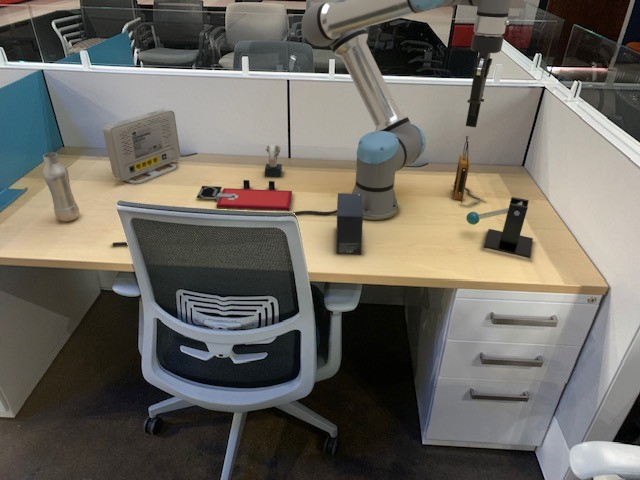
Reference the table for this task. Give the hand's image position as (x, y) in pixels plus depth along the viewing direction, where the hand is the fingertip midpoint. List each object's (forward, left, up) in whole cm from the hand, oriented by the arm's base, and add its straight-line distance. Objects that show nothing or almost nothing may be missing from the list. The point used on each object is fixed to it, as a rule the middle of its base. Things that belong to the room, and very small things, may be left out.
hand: (471, 125), depth 132 cm
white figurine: (-44, +47, -29) cm, 70 cm away
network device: (-85, +62, -29) cm, 109 cm away
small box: (-37, -3, -29) cm, 47 cm away
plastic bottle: (-110, +36, -29) cm, 119 cm away
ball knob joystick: (+1, -17, -21) cm, 27 cm away
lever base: (+4, -20, -28) cm, 35 cm away
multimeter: (+12, +9, -29) cm, 32 cm away
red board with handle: (-58, +32, -29) cm, 72 cm away
